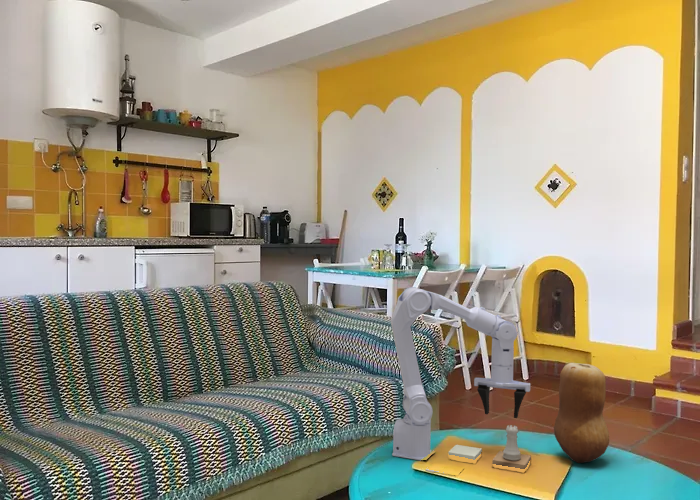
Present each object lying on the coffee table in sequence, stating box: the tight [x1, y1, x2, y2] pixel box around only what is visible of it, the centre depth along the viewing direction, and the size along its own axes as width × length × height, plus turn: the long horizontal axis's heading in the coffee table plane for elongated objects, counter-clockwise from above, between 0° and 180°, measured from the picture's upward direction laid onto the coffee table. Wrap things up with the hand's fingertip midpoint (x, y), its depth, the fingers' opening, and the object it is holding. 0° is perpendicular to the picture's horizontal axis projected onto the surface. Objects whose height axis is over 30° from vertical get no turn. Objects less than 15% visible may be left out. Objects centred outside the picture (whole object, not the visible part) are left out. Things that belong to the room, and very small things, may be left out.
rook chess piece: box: [502, 424, 522, 461], centre depth 154 cm, size 4×4×8 cm
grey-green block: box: [447, 444, 483, 460], centre depth 160 cm, size 7×7×2 cm
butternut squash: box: [553, 362, 610, 464], centre depth 160 cm, size 14×13×25 cm
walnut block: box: [491, 450, 532, 469], centre depth 155 cm, size 8×8×2 cm
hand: (501, 415), depth 164 cm, fingers open, 7 cm apart
